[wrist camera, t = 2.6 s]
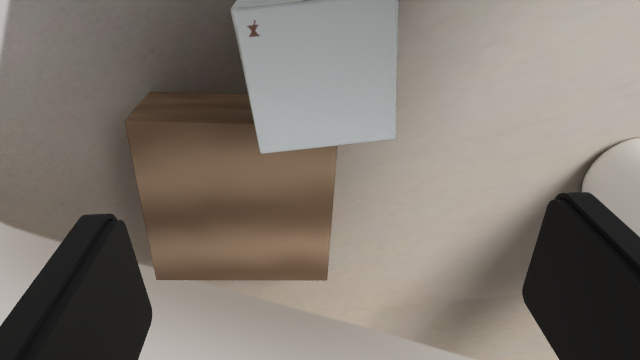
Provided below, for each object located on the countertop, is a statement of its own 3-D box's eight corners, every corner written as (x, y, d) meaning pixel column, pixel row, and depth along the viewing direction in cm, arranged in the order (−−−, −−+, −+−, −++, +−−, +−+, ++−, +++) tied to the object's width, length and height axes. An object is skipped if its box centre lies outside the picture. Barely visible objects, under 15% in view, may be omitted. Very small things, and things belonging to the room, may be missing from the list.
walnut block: (151, 90, 33) (124, 120, 28) (332, 95, 34) (338, 126, 29) (174, 234, 40) (156, 280, 35) (323, 235, 41) (327, 280, 36)
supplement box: (268, 79, 33) (254, 157, 22) (252, -28, 29) (225, 2, 18) (364, 70, 33) (398, 144, 22) (361, -39, 29) (400, -15, 18)
